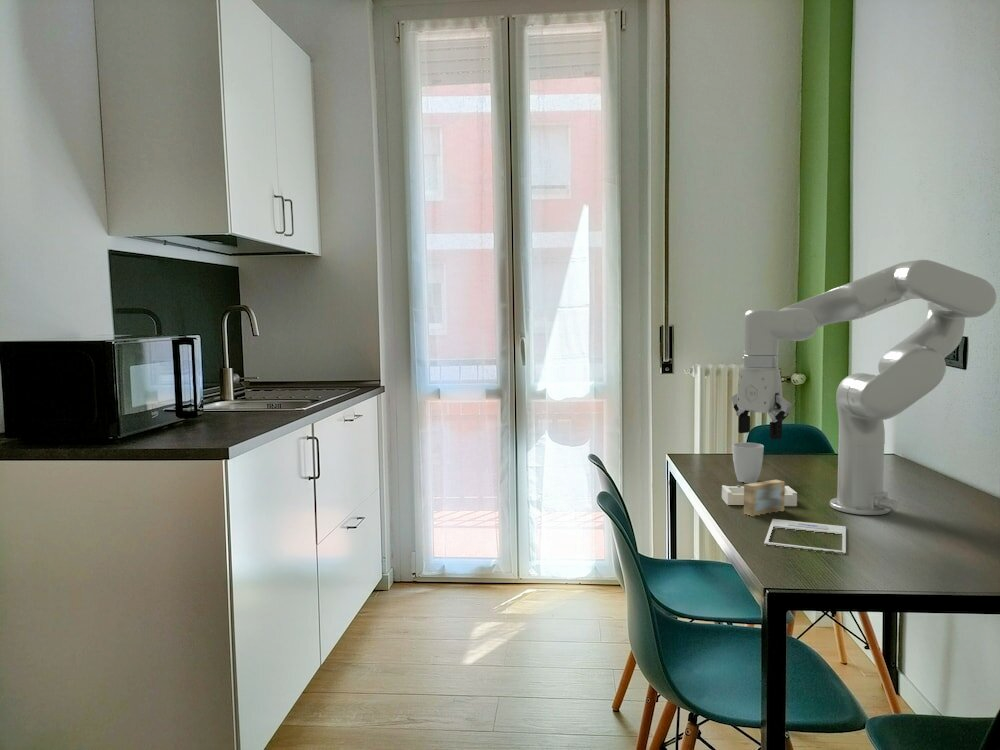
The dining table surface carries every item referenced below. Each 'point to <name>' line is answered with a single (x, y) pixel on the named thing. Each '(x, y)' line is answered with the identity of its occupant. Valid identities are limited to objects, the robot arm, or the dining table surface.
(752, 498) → the oak frame
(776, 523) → the photo frame
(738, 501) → the white pegged tray
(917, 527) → the dining table surface
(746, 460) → the cup
